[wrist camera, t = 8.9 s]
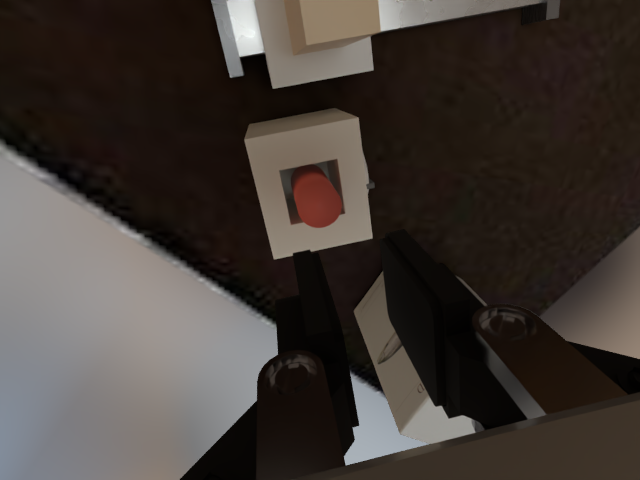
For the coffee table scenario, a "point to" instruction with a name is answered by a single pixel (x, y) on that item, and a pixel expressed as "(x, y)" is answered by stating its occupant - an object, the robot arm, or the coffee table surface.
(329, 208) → the button
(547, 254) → the coffee table surface
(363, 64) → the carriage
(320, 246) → the white cube box
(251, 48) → the rail
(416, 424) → the supplement box
